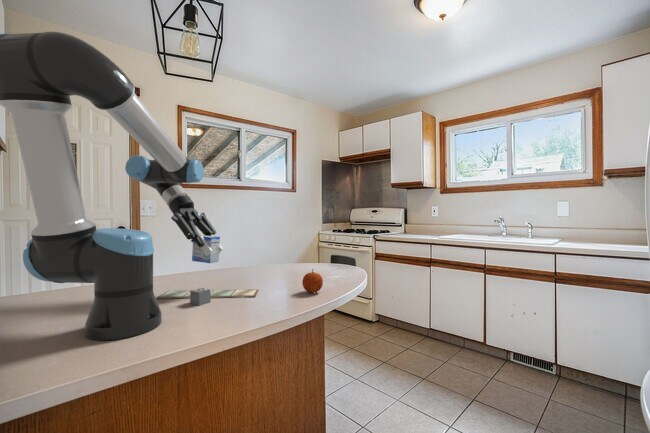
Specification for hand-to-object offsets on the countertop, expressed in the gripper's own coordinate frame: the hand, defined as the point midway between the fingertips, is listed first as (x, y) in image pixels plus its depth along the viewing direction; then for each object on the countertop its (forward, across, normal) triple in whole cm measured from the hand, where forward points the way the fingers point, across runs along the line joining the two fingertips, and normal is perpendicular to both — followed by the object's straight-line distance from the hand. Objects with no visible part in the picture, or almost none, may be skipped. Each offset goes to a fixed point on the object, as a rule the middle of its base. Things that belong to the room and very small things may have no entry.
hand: (214, 252), depth 100 cm
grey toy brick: (+12, +10, -7) cm, 17 cm away
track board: (+10, +1, -10) cm, 14 cm away
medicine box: (0, 0, -5) cm, 5 cm away
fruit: (+31, -13, +13) cm, 36 cm away
